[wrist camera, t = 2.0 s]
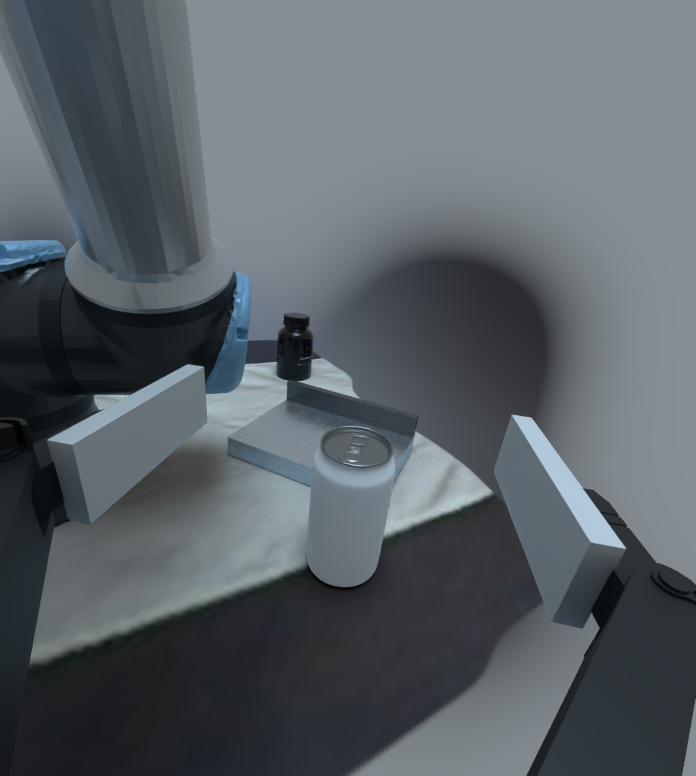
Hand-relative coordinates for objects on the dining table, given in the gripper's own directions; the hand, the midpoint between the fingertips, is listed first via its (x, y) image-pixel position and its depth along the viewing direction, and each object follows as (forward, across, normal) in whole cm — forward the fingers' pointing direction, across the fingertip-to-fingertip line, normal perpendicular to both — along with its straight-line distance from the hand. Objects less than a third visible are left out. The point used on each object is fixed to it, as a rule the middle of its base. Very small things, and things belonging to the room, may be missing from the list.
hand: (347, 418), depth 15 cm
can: (+10, 0, -19) cm, 22 cm away
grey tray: (+26, -5, -19) cm, 33 cm away
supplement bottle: (+51, -17, -19) cm, 57 cm away
